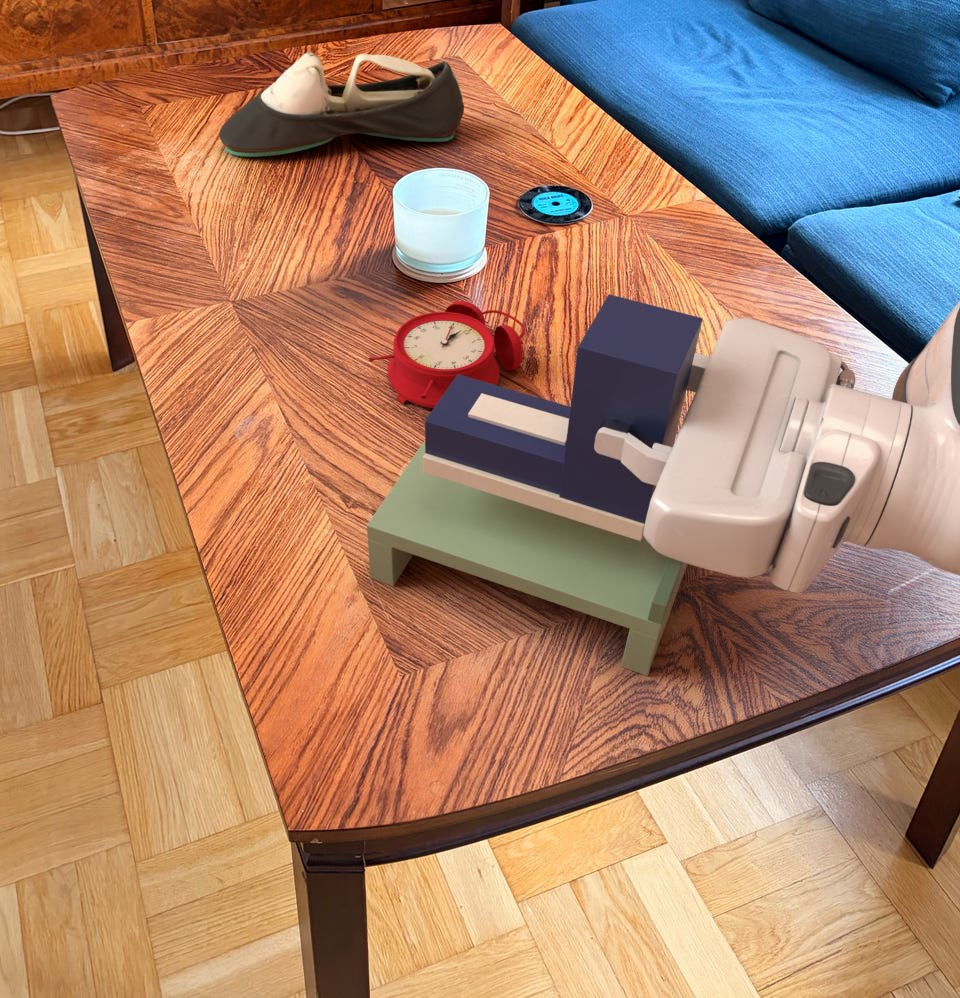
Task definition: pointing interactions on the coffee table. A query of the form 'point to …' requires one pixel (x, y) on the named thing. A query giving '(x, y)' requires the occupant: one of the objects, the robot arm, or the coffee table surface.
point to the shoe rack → (526, 554)
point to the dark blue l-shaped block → (573, 421)
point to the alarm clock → (449, 352)
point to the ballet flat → (345, 108)
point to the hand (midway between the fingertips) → (615, 399)
